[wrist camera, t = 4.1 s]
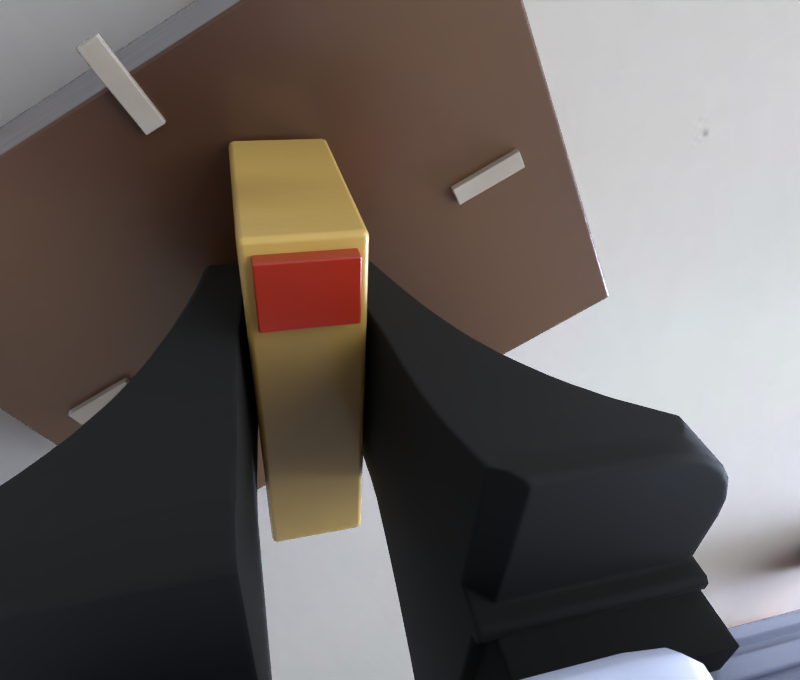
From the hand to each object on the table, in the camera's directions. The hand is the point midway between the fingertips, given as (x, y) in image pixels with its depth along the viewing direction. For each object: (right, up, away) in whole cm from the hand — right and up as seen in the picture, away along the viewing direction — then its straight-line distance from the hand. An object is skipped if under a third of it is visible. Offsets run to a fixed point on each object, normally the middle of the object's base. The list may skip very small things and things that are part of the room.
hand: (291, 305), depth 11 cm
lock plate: (-1, +2, +3) cm, 3 cm away
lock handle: (0, 0, 0) cm, 0 cm away
